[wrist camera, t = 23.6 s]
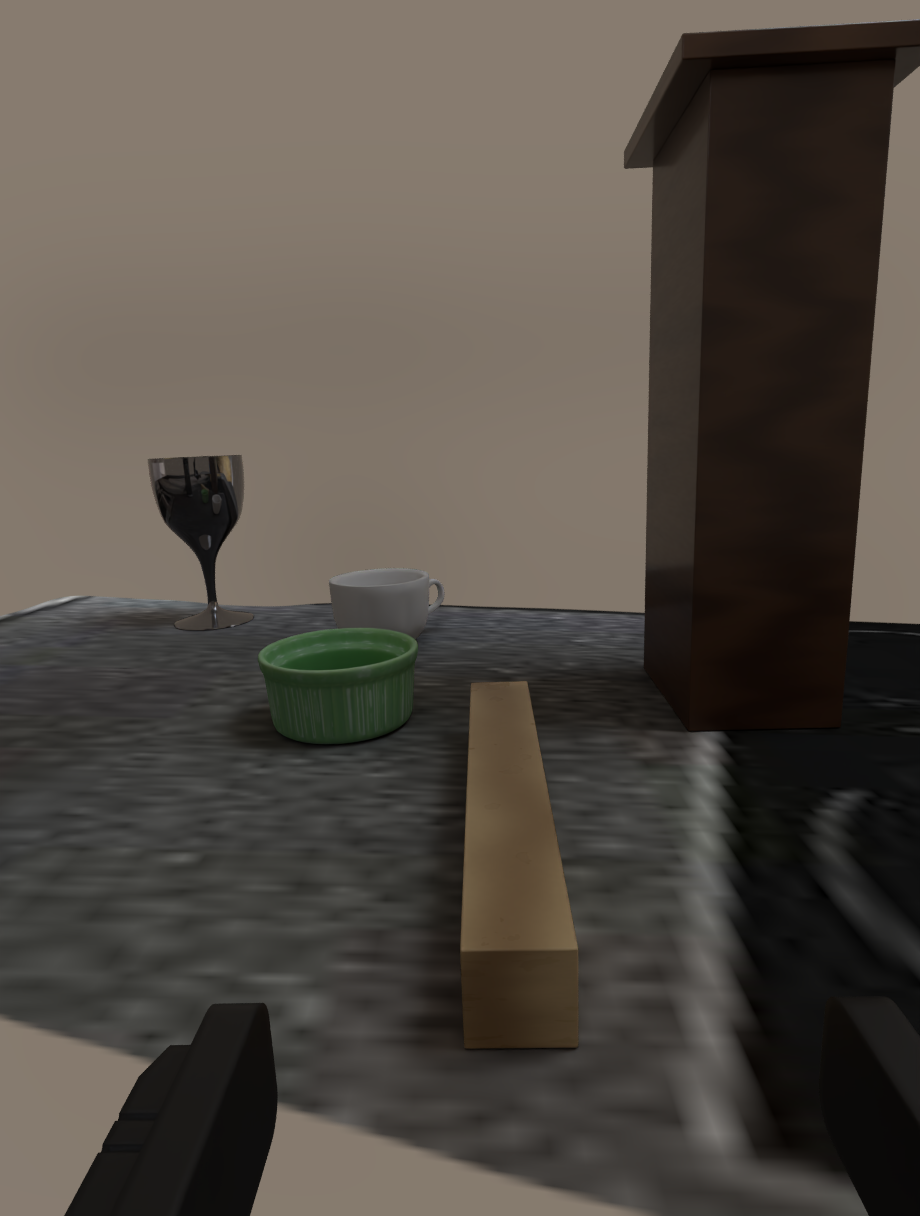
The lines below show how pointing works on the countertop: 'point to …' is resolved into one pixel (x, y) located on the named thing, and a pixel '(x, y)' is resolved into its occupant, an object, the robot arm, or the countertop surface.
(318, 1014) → the countertop surface
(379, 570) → the teacup
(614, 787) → the countertop surface
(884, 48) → the walnut stand
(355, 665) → the ramekin
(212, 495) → the wine glass
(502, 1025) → the beech bar
